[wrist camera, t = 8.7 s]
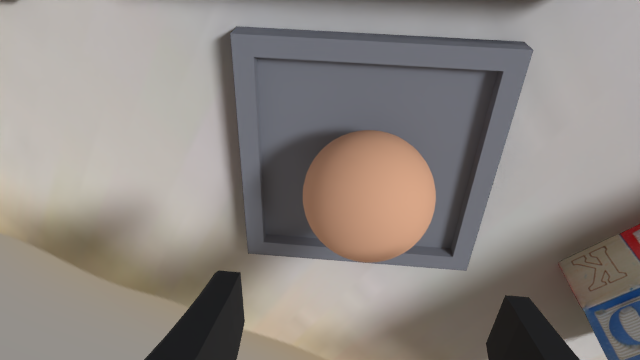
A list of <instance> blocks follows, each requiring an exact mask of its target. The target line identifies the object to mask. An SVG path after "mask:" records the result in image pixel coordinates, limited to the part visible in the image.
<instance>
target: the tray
mask: <svg viewBox="0 0 640 360" xmlns="http://www.w3.org/2000/svg"><path fill="white" fill-rule="evenodd" d="M230 36H231V48H232V61H233V73H234V85H235V98H236V110H237V122H238V135H239V147H240V159H241V172H242V184H243V196H244V209H245V221H246V233H247V246H248V253H249V254H262V255H274V256H287V257H300V258H312V259H325V260H337V261H350V262H358V261H353V260H350V259H347V258H344V257H342V256H340V255H338V254H336V253H334V252H333V251H331V250H330V249H329V248H327V247H326V246H325V245H324V244H323V243H322V242H321V241H320V240H319V239H318V238H317V236H316V235H315V234H314V232H313V231H312V229H311V227H310V225H309V223H308V220H307V218H306V215H305V211H304V206H303V185H304V181H305V177H306V174H307V171H308V169H309V167H310V165H311V163H312V162H313V160H314V158H315V157H316V156H317V155H318V153H319V152H320V151H321V150H322V149H323V148H324V147H325V146H326V145H328V144H329V143H330V142H332V141H333V140H335V139H337V138H339V137H340V136H343V135H345V134H348V133H351V132H356V131H362V130H375V131H382V132H387V133H390V134H393V135H396V136H398V137H400V138H401V139H403V140H405V141H406V142H408V143H409V144H410V145H412V146H413V147H414V148H415V149H416V150H417V151H418V152H419V153H420V154H421V156H422V157H423V158H424V160H425V161H426V163H427V165H428V166H429V168H430V171H431V173H432V176H433V179H434V184H435V190H436V203H435V210H434V214H433V217H432V220H431V223H430V225H429V227H428V228H427V230H426V232H425V233H424V235H423V236H422V238H421V239H420V240H419V241H418V242H417V243H416V244H415V245H414V246H413V247H412V248H410V249H409V250H408V251H406V252H405V253H403V254H401V255H399V256H397V257H395V258H392V259H389V260H386V261H381V262H372V263H375V264H388V265H401V266H413V267H426V268H438V269H451V270H464V271H466V270H467V267H468V264H469V261H470V257H471V254H472V251H473V247H474V244H475V241H476V237H477V234H478V231H479V228H480V224H481V221H482V218H483V214H484V211H485V208H486V205H487V201H488V198H489V195H490V191H491V188H492V185H493V181H494V178H495V175H496V172H497V168H498V165H499V162H500V158H501V155H502V152H503V149H504V145H505V142H506V139H507V135H508V132H509V129H510V125H511V122H512V119H513V116H514V112H515V109H516V106H517V102H518V99H519V96H520V93H521V89H522V86H523V83H524V79H525V76H526V73H527V69H528V66H529V63H530V60H531V56H532V53H533V49H532V48H531V47H529V46H528V45H527V44H526V43H525V42H517V41H498V40H480V39H461V38H442V37H424V36H405V35H386V34H367V33H349V32H330V31H311V30H292V29H274V28H255V27H236V28H235V29H234V30H233V31H232V32H231V33H230ZM363 263H371V262H363Z"/></svg>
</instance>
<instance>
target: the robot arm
mask: <svg viewBox="0 0 640 360" xmlns="http://www.w3.org/2000/svg"><path fill="white" fill-rule="evenodd" d="M244 322H245V320H244V309H243V297H242V286H241V274H240V272H228V271H218V272H216V273H215V274H214V275H213V277H212V278H211V280H210V281H209V283H208V284H207V285H206V287H205V288H204V289H203V291H202V292H201V293H200V295H199V296H198V297H197V299H196V300H195V301H194V302H193V304H192V305H191V306H190V308H189V309H188V310H187V311H186V313H185V314H184V315H183V316H182V317H181V319H180V320H179V321H178V322H177V323H176V325H175V326H174V327H173V328H172V329H171V331H170V332H169V333H168V334H167V335H166V336H165V338H164V339H163V340H162V341H161V342H160V343H159V344H158V345H157V346H156V347H155V348H154V350H153V351H152V352H151V353H150V354H149V355H148V356H147V357H146V358H145V359H144V360H236V359H237V355H238V351H239V346H240V341H241V336H242V332H243V327H244ZM486 345H487V352H488V358H489V360H580V359H579V358H578V357H577V356H576V355H575V354H574V352H573V351H572V350H571V349H570V348H569V346H568V345H567V344H566V343H565V341H564V340H563V339H562V338H561V337H560V335H559V334H558V333H557V332H556V330H555V329H554V328H553V327H552V326H551V324H550V323H549V322H548V321H547V319H546V318H545V317H544V316H543V314H542V313H541V312H540V311H539V310H538V308H537V307H536V306H535V305H534V303H533V302H532V301H531V300H530V298H529V297H518V296H506V295H505V298H504V300H503V303H502V305H501V308H500V310H499V313H498V315H497V318H496V320H495V323H494V325H493V328H492V330H491V333H490V335H489V338H488V340H487V343H486Z"/></svg>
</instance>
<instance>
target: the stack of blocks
mask: <svg viewBox="0 0 640 360" xmlns="http://www.w3.org/2000/svg"><path fill="white" fill-rule="evenodd" d="M559 266H560V268H561V270H562V272H563V274H564V276H565V277H566V279H567V281H568V283H569V285H570V287H571V289H572V291H573V293H574V295H575V297H576V299H577V301H578V303H579V304H580V306H581V308H582V309H583V311H584V312H585V314H586V317H587V319H588V321H589V323H590V325H591V327H592V329H593V331H594V333H595V335H596V337H597V339H598V341H599V343H600V345H601V347H602V349H603V351H604V353H605V355H606V357H607V359H608V360H640V224H639V225H637V226H635V227H633V228H631V229H629V230H627V231H624V232H622V233H620V234H619V235H616V236H613V237H611V238H609V239H607V240H604V241H602V242H600V243H598V244H596V245H594V246H592V247H590V248H587V249H585V250H583V251H581V252H579V253H577V254H575V255H573V256H571V257H568V258H566V259H564V260H562V261H561V262H559Z"/></svg>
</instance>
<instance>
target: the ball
mask: <svg viewBox="0 0 640 360" xmlns="http://www.w3.org/2000/svg"><path fill="white" fill-rule="evenodd" d="M435 203H436V190H435V184H434V179H433V176H432V173H431V171H430V168H429V166H428V165H427V163H426V161H425V160H424V158H423V157H422V156H421V154H420V153H419V152H418V151H417V150H416V149H415V148H414V147H413V146H412V145H410V144H409V143H408V142H406V141H405V140H403V139H401V138H400V137H398V136H396V135H393V134H390V133H387V132H382V131H375V130H362V131H356V132H351V133H348V134H345V135H343V136H340V137H339V138H337V139H335V140H333V141H332V142H330V143H329V144H328V145H326V146H325V147H324V148H323V149H322V150H321V151H320V152H319V153H318V155H317V156H316V157H315V158H314V160H313V162H312V163H311V165H310V167H309V169H308V171H307V174H306V177H305V181H304V185H303V206H304V211H305V215H306V218H307V220H308V223H309V225H310V227H311V229H312V231H313V232H314V234H315V235H316V236H317V238H318V239H319V240H320V241H321V242H322V243H323V244H324V245H325V246H326V247H327V248H329V249H330V250H331V251H333V252H334V253H336V254H338V255H340V256H342V257H344V258H347V259H350V260H353V261H358V262H371V263H372V262H381V261H386V260H389V259H392V258H395V257H397V256H399V255H401V254H403V253H405V252H406V251H408V250H409V249H410V248H412V247H413V246H414V245H415V244H416V243H417V242H418V241H419V240H420V239H421V238H422V236H423V235H424V233H425V232H426V230H427V228H428V227H429V225H430V223H431V220H432V217H433V214H434V210H435Z"/></svg>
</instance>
